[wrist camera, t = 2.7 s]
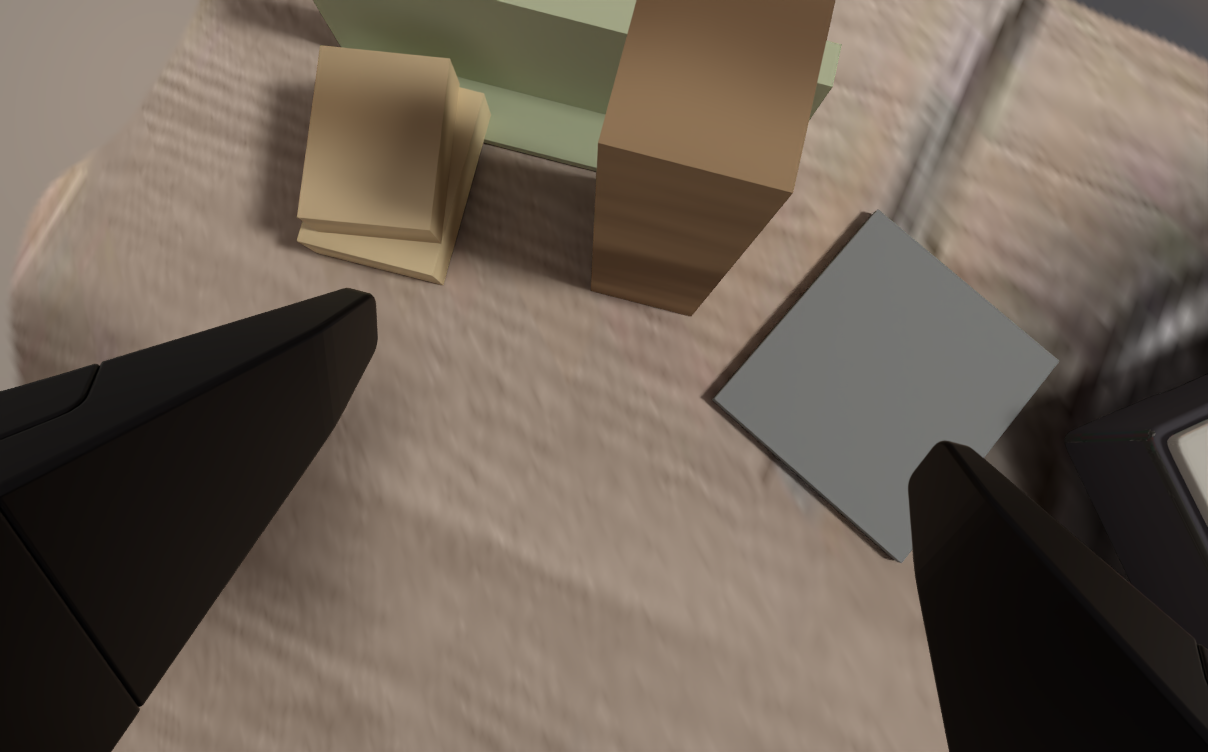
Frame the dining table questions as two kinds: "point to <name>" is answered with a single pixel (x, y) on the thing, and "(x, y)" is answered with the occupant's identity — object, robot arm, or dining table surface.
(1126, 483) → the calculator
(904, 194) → the dining table surface
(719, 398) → the felt pad
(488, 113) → the offcut lower
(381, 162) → the offcut upper
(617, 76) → the brown wooden block
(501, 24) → the green flanged rail
